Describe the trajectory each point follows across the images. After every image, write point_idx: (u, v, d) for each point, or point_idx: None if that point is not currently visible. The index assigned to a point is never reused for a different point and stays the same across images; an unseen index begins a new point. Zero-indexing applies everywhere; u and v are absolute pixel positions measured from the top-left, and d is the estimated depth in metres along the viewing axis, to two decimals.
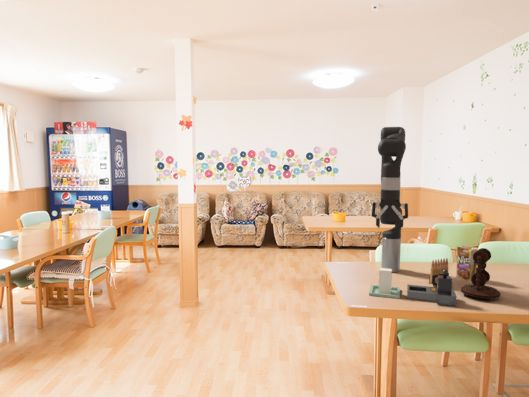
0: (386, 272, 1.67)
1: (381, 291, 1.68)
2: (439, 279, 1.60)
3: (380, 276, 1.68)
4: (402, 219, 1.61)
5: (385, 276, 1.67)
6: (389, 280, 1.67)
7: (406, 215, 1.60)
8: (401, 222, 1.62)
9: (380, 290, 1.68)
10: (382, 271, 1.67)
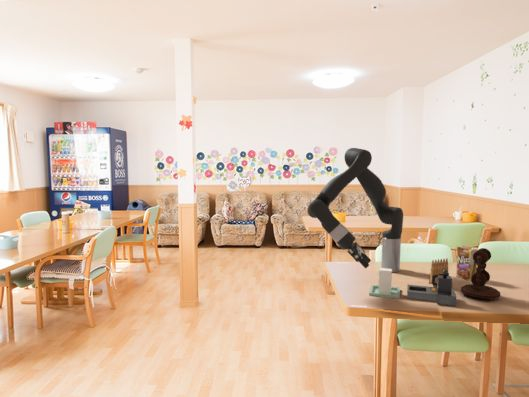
0: (386, 272, 1.67)
1: (381, 291, 1.68)
2: (439, 279, 1.60)
3: (380, 276, 1.68)
4: None
5: (385, 276, 1.67)
6: (389, 280, 1.67)
7: None
8: None
9: (380, 290, 1.68)
10: (382, 271, 1.67)
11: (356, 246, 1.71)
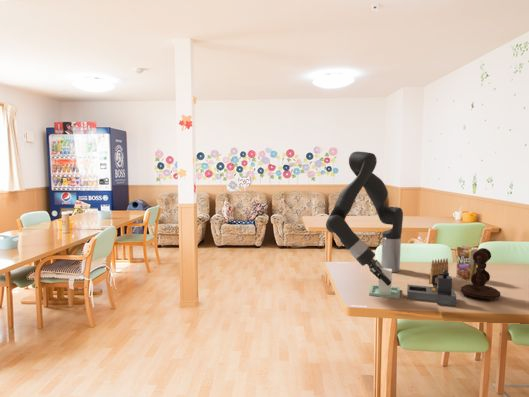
0: (386, 272, 1.67)
1: (381, 291, 1.68)
2: (439, 279, 1.60)
3: None
4: None
5: None
6: None
7: None
8: (384, 280, 1.67)
9: (380, 290, 1.68)
10: (382, 271, 1.67)
11: (376, 263, 1.68)
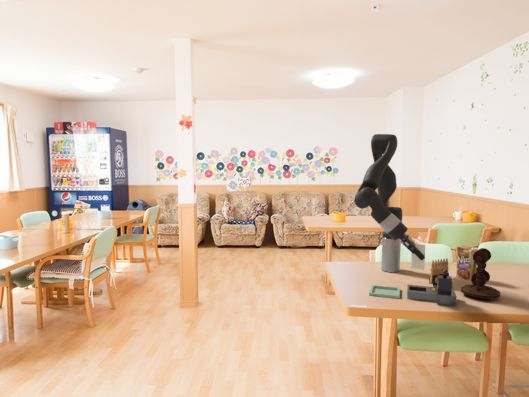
0: (419, 246, 1.62)
1: (414, 266, 1.63)
2: (439, 279, 1.60)
3: None
4: (414, 253, 1.62)
5: None
6: None
7: (411, 251, 1.61)
8: None
9: (413, 265, 1.63)
10: (415, 245, 1.62)
11: (409, 237, 1.63)
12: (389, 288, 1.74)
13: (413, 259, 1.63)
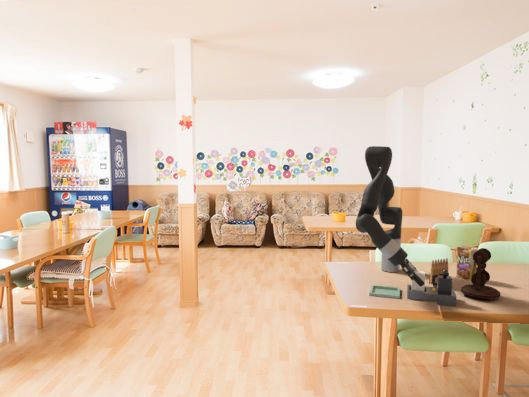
0: (419, 275, 1.63)
1: None
2: (439, 279, 1.60)
3: None
4: (413, 279, 1.61)
5: None
6: None
7: (410, 277, 1.60)
8: None
9: None
10: None
11: (409, 263, 1.64)
12: (389, 288, 1.74)
13: (413, 287, 1.64)
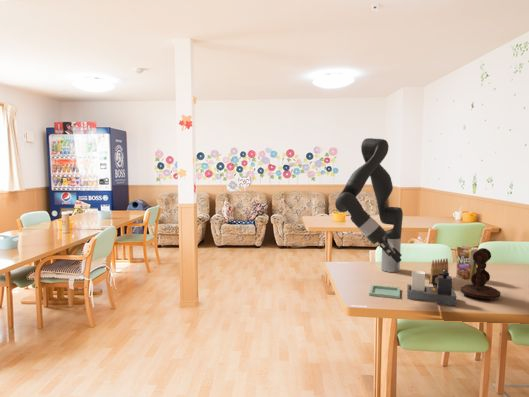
0: (419, 275, 1.63)
1: None
2: (439, 279, 1.60)
3: (413, 279, 1.64)
4: (390, 256, 1.63)
5: (418, 279, 1.63)
6: (422, 283, 1.62)
7: (387, 254, 1.62)
8: (393, 257, 1.63)
9: None
10: (415, 274, 1.63)
11: (387, 240, 1.66)
12: (389, 288, 1.74)
13: (413, 287, 1.64)
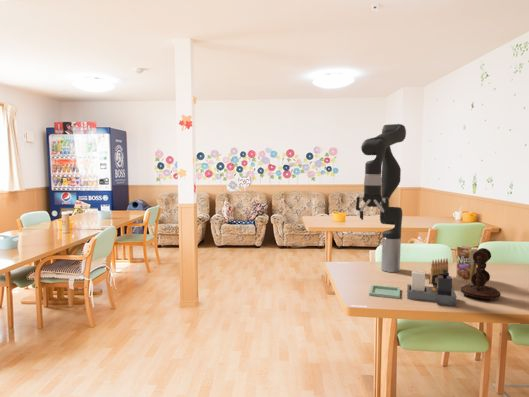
0: (419, 275, 1.63)
1: None
2: (439, 279, 1.60)
3: (413, 279, 1.64)
4: (383, 212, 1.78)
5: (418, 279, 1.63)
6: (422, 283, 1.62)
7: (387, 208, 1.77)
8: None
9: None
10: (415, 274, 1.63)
11: None
12: (389, 288, 1.74)
13: (413, 287, 1.64)
